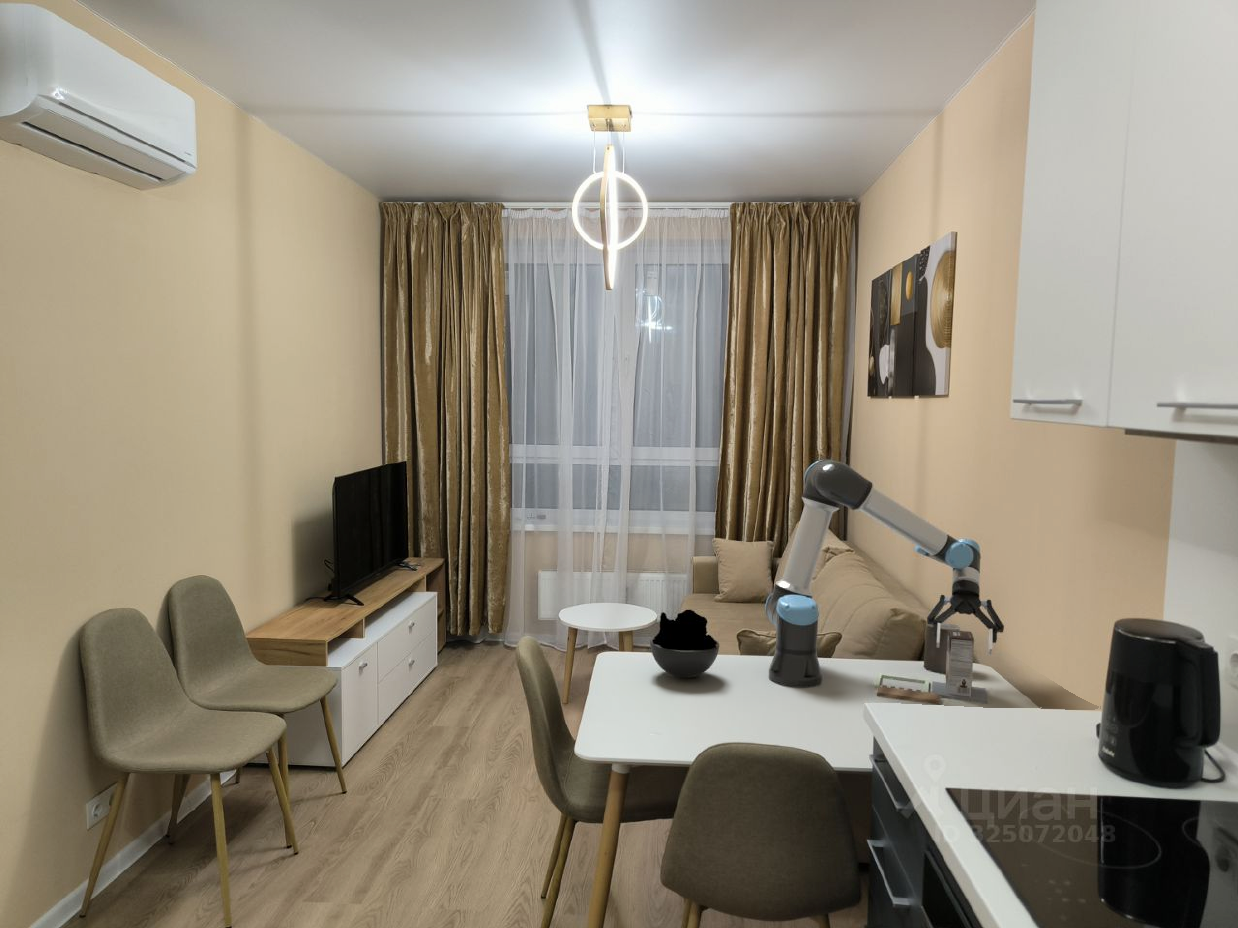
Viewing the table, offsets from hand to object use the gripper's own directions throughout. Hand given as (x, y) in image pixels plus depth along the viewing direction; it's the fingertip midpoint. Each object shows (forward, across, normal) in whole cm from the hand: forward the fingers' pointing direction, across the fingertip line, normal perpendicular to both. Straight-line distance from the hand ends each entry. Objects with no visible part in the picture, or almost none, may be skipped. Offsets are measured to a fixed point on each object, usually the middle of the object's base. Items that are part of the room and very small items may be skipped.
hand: (963, 648), depth 225 cm
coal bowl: (+26, +74, +8) cm, 79 cm away
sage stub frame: (+10, +16, -7) cm, 20 cm away
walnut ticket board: (+17, +14, 0) cm, 22 cm away
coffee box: (+10, +1, -7) cm, 12 cm away
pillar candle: (-6, +6, -23) cm, 24 cm away
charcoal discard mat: (+10, +1, -7) cm, 12 cm away
